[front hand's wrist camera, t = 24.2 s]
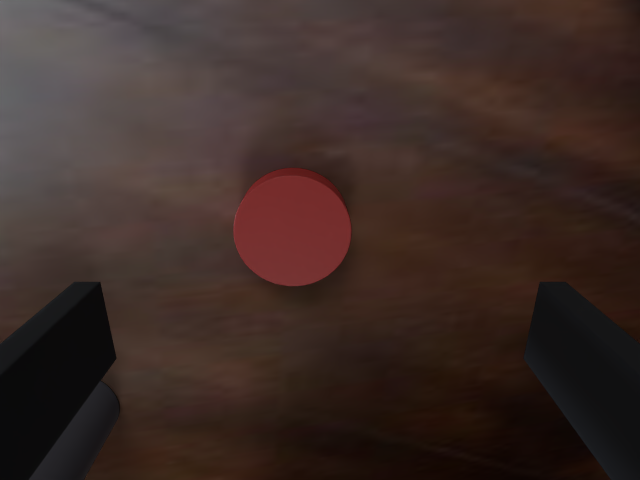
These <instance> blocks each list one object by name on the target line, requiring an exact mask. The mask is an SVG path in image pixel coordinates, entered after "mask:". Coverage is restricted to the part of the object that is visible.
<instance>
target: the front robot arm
mask: <svg viewBox="0 0 640 480" xmlns="http://www.w3.org/2000/svg"><path fill="white" fill-rule="evenodd" d="M115 360H116V354H115V349H114V345H113V340H112V335H111V331H110V326H109V321H108V316H107V312H106V307H105V302H104V298H103V293H102V288H101V284H100V282H74V283H73V284H71V285H70V286H69V287H68V288H67V289H65V290H64V291H63V292H62V293H61V294H59V295H58V296H57V297H56V298H55V299H53V300H52V301H51V302H50V303H49V304H47V305H46V306H45V307H44V308H43V309H42V310H40V311H39V312H38V313H37V314H36V315H34V316H33V317H32V318H31V319H30V320H28V321H27V322H26V323H25V324H24V325H22V326H21V327H20V328H19V329H18V330H16V331H15V332H14V333H13V334H12V335H10V336H9V337H8V338H7V339H6V340H4V341H3V342H2V343H1V344H0V480H29V479H30V477H31V476H32V475H33V473H34V472H35V471H36V469H37V468H38V466H39V465H40V464H41V462H42V461H43V459H44V458H45V457H46V455H47V454H48V453H49V451H50V450H51V448H52V447H53V446H54V444H55V443H56V441H57V440H58V439H59V437H60V436H61V435H62V433H63V432H64V430H65V429H66V428H67V426H68V425H69V423H70V422H71V421H72V419H73V418H74V417H75V415H76V414H77V412H78V411H79V410H80V408H81V407H82V405H83V404H84V403H85V401H86V400H87V399H88V397H89V396H90V394H91V393H92V392H93V390H94V389H95V387H96V386H97V385H98V383H99V382H100V381H101V379H102V378H103V376H104V375H105V374H106V372H107V371H108V369H109V368H110V367H111V365H112V364H113V363H114V361H115ZM524 360H525V361H526V363H527V364H528V365H529V367H530V368H531V369H532V371H533V372H534V374H535V375H536V376H537V378H538V379H539V381H540V382H541V383H542V385H543V386H544V387H545V389H546V390H547V392H548V393H549V394H550V396H551V397H552V399H553V400H554V401H555V403H556V404H557V405H558V407H559V408H560V410H561V411H562V412H563V414H564V415H565V417H566V418H567V419H568V421H569V422H570V423H571V425H572V426H573V428H574V429H575V430H576V432H577V433H578V435H579V436H580V437H581V439H582V440H583V441H584V443H585V444H586V446H587V447H588V448H589V450H590V451H591V453H592V454H593V455H594V457H595V458H596V459H597V461H598V462H599V464H600V465H601V466H602V468H603V469H604V471H605V472H606V473H607V475H608V476H609V477H610V479H611V480H640V344H639V343H638V342H637V341H636V340H634V339H633V338H632V337H631V336H630V335H628V334H627V333H626V332H625V331H624V330H622V329H621V328H620V327H619V326H618V325H616V324H615V323H614V322H613V321H612V320H610V319H609V318H608V317H607V316H606V315H604V314H603V313H602V312H601V311H600V310H598V309H597V308H596V307H595V306H594V305H593V304H591V303H590V302H589V301H588V300H587V299H585V298H584V297H583V296H582V295H581V294H579V293H578V292H577V291H576V290H575V289H573V288H572V287H571V286H570V285H569V284H567V283H566V282H540V284H539V288H538V293H537V298H536V302H535V307H534V312H533V316H532V321H531V326H530V331H529V335H528V340H527V345H526V349H525V354H524Z"/></svg>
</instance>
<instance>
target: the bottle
mask: <svg viewBox="0 0 640 480" xmlns="http://www.w3.org/2000/svg"><path fill="white" fill-rule="evenodd" d="M118 416H119V403H118V400H117V398H116V396H115V394H114V393H113V391H112V390H111V389H110V388H109V387H108V386H107V385H106V384H105V383H103V382H102V381H100V382H99V383H98V385H97V386H96V387H95V389H94V390H93V392H92V393H91V394H90V396H89V397H88V399H87V400H86V401H85V403H84V404H83V405H82V407H81V408H80V410H79V411H78V412H77V414H76V415H75V417H74V418H73V419H72V421H71V422H70V423H69V425H68V426H67V428H66V429H65V430H64V432H63V433H62V435H61V436H60V437H59V439H58V440H57V441H56V443H55V444H54V446H53V447H52V448H51V450H50V451H49V453H48V454H47V455H46V457H45V458H44V459H43V461H42V462H41V464H40V465H39V466H38V468H37V469H36V471H35V472H34V473H33V475H32V476H31V477H30V479H29V480H84V479H85V477H86V475H87V473H88V471H89V470H90V468H91V466H92V464H93V462H94V461H95V459H96V457H97V455H98V453H99V452H100V450H101V448H102V446H103V444H104V443H105V441H106V439H107V437H108V435H109V434H110V432H111V430H112V428H113V426H114V425H115V423H116V421H117V419H118Z"/></svg>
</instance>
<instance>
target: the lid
mask: <svg viewBox="0 0 640 480" xmlns="http://www.w3.org/2000/svg"><path fill="white" fill-rule="evenodd" d="M351 232H352V230H351V221H350V217H349V214H348V210H347V207H346V204H345V202H344V199H343V197H342V196H341V194H340V192H339V191H338V189H337V188H336V187H335V186H334V185H333V184H332V183H331V182H330V181H329V180H327V179H326V178H325V177H323V176H321V175H320V174H318V173H315V172H313V171H310V170H307V169H301V168H285V169H280V170H276V171H273V172H270V173H268V174H266V175H265V176H263V177H261V178H260V179H259V180H257V181H256V182H255V183H254V184H253V185H252V186H251V187H250V189H249V190H248V191H247V193H246V195H245V196H244V198H243V200H242V202H241V204H240V206H239V208H238V210H237V213H236V216H235V220H234V240H235V244H236V247H237V250H238V252H239V254H240V256H241V258H242V259H243V261H244V262H245V264H246V265H247V266H248V267H249V268H250V269H251V270H252V271H253V272H254V273H256V274H257V275H258V276H260V277H262V278H263V279H265V280H267V281H270V282H272V283H275V284H279V285H285V286H302V285H307V284H311V283H314V282H317V281H319V280H321V279H323V278H325V277H326V276H328V275H329V274H331V273H332V272H333V271H334V270H335V269H336V268H337V267H338V266H339V265H340V263H341V262H342V261H343V259H344V257H345V256H346V254H347V251H348V249H349V246H350V241H351Z"/></svg>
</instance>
